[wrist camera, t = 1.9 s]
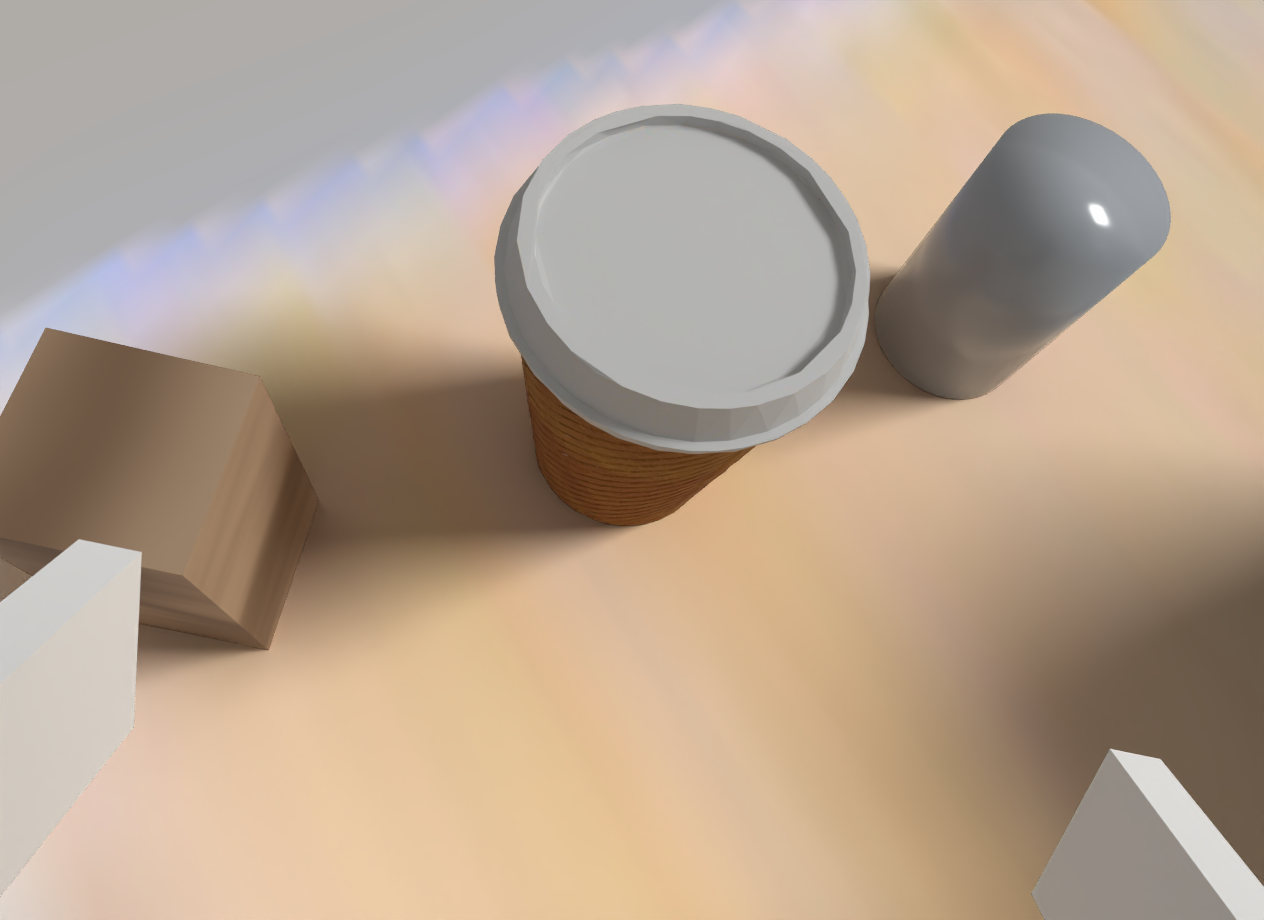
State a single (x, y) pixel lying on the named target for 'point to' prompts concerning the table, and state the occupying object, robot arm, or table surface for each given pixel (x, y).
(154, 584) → the walnut block
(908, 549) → the table surface
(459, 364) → the table surface
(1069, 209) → the grey rounded cylinder
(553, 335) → the disposable coffee cup
